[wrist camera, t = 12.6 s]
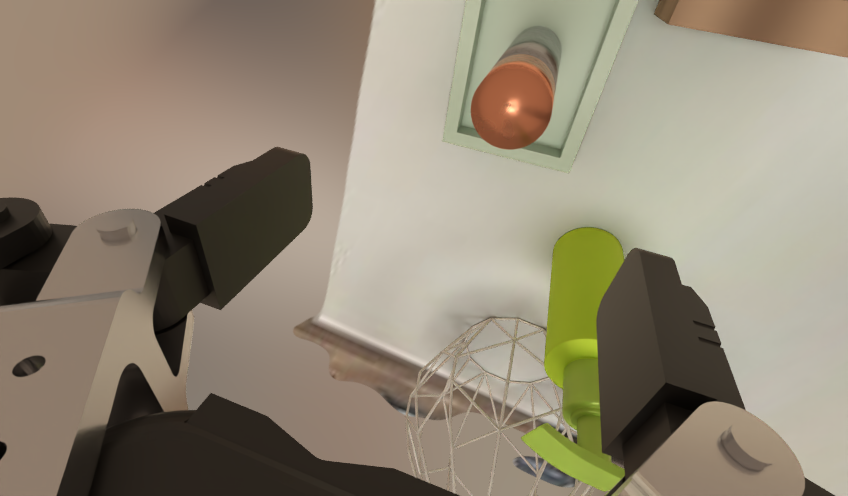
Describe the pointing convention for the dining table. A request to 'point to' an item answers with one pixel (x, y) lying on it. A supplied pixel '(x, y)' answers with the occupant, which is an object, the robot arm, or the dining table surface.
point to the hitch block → (766, 21)
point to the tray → (577, 78)
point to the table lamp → (498, 426)
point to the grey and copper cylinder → (519, 91)
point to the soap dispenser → (578, 354)
